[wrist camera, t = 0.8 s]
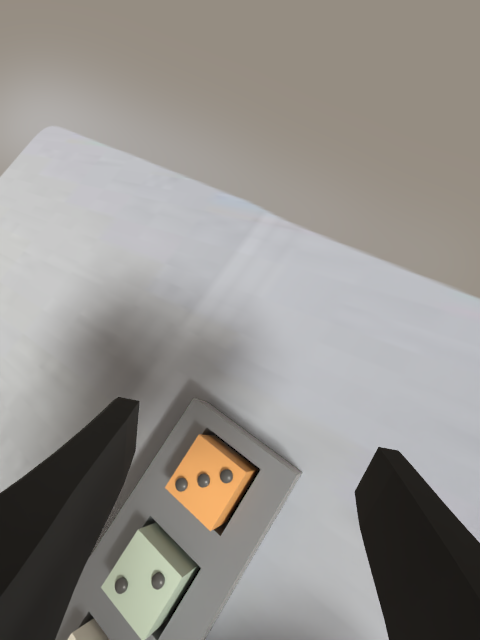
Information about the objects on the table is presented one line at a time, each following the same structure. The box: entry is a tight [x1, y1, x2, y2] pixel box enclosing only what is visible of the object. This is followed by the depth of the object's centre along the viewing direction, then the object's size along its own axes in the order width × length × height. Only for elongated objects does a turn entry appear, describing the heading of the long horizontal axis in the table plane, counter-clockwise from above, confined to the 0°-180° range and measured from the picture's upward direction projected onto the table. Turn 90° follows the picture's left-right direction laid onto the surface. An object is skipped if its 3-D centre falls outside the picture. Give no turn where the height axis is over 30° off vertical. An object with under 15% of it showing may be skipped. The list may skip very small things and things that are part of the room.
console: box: [55, 398, 302, 640], centre depth 23 cm, size 21×9×2 cm, turn 146°
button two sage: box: [101, 522, 199, 640], centre depth 22 cm, size 4×4×3 cm
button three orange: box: [165, 434, 258, 531], centre depth 23 cm, size 4×4×3 cm
